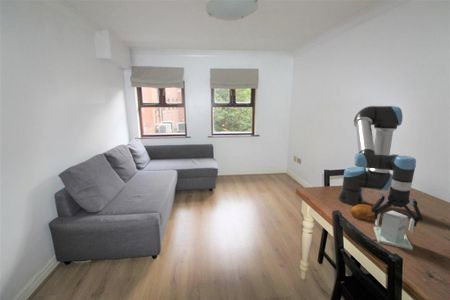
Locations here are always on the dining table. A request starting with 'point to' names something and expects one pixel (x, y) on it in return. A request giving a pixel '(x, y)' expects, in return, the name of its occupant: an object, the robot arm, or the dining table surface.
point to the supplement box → (393, 226)
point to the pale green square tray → (401, 244)
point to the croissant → (363, 212)
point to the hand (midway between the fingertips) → (392, 228)
